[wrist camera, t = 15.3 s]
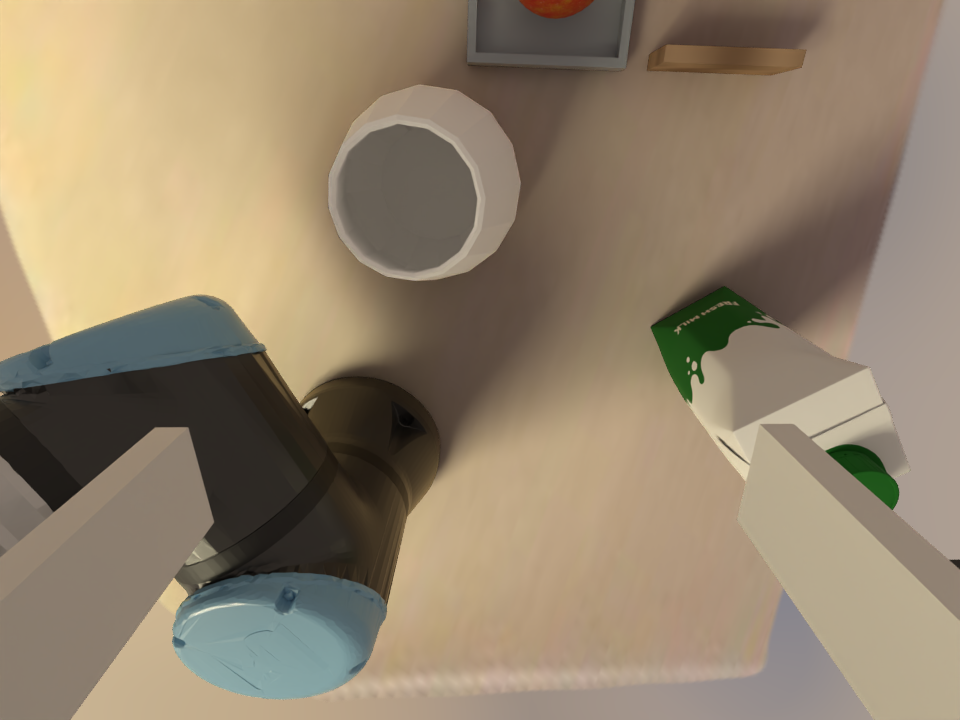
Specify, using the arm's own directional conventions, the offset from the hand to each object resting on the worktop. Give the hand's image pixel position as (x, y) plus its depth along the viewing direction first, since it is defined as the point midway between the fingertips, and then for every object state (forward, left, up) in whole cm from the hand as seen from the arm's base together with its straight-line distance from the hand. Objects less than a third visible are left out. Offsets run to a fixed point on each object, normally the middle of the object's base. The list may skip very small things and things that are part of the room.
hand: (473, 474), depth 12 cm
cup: (-5, +4, -33) cm, 33 cm away
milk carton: (+19, -8, -33) cm, 39 cm away
